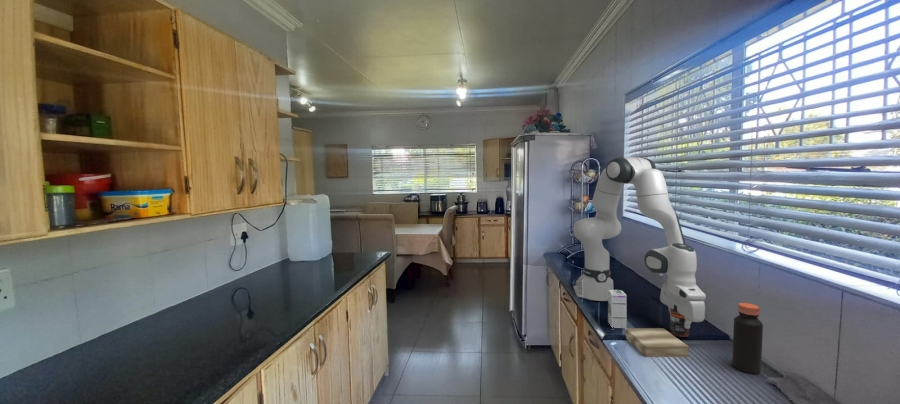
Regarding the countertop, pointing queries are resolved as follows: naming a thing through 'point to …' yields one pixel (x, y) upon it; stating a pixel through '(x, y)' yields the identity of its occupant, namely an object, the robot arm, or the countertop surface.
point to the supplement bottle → (677, 323)
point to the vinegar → (747, 339)
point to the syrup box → (617, 309)
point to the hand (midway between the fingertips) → (679, 323)
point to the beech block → (656, 342)
